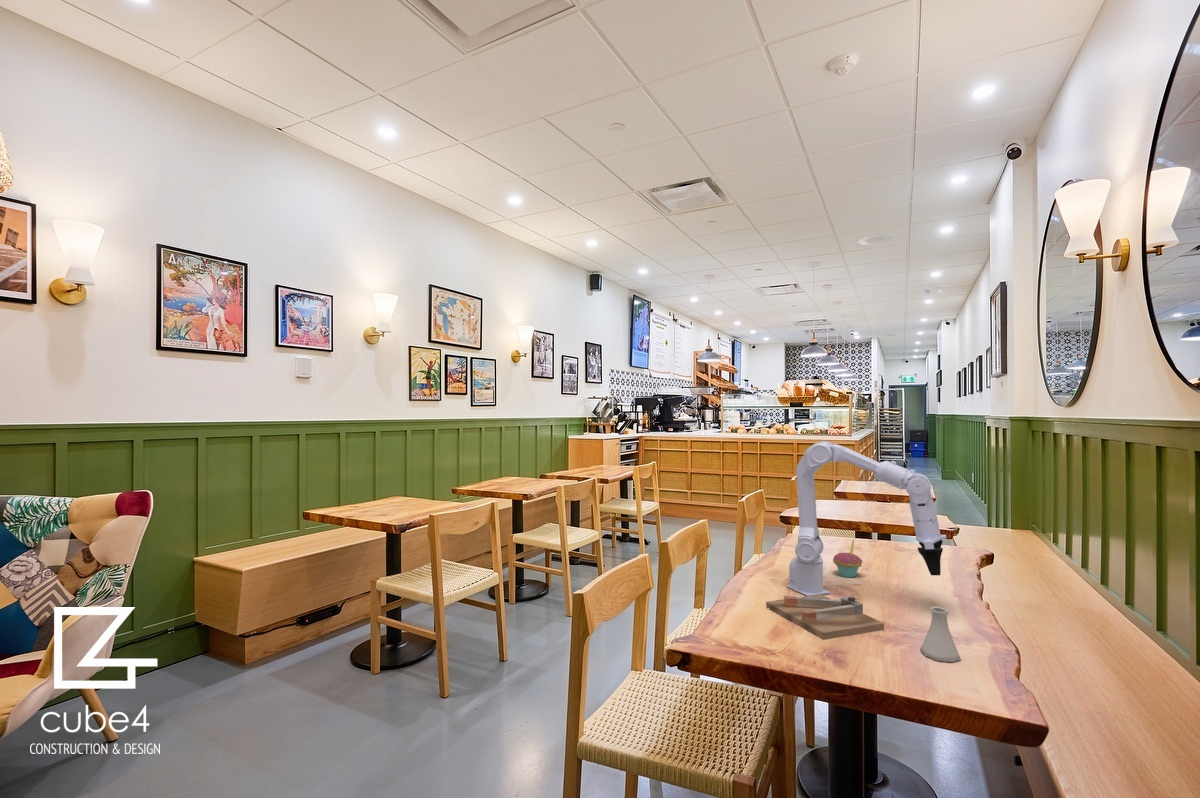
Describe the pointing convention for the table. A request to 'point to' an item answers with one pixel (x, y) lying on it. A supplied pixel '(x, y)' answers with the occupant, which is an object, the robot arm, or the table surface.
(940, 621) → the flask
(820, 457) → the robot arm
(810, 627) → the tongs board
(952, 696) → the table surface
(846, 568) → the cupcake
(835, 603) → the tong arm
